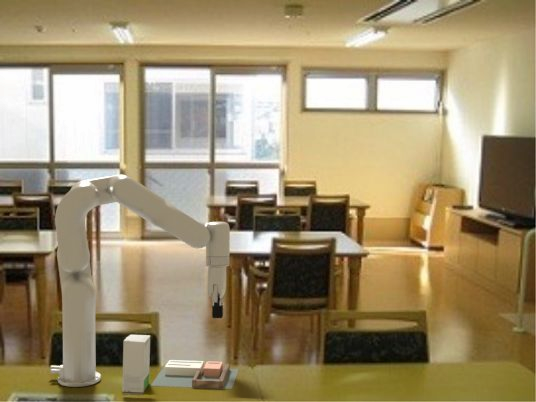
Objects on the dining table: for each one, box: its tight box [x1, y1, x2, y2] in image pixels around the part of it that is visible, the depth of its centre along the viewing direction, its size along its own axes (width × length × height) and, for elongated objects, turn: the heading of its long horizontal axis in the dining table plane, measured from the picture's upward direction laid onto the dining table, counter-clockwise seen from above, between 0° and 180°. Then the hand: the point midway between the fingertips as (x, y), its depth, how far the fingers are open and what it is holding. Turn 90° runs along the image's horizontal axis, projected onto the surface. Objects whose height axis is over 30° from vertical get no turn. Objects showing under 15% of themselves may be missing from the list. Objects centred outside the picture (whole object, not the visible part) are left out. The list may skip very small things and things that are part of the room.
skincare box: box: [121, 334, 151, 396], centre depth 202 cm, size 8×7×16 cm
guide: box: [191, 363, 231, 389], centre depth 211 cm, size 9×17×2 cm, turn 176°
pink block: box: [203, 360, 224, 377], centre depth 216 cm, size 5×7×3 cm
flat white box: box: [165, 359, 205, 376], centre depth 217 cm, size 11×7×3 cm, turn 86°
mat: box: [150, 365, 240, 390], centre depth 212 cm, size 24×18×1 cm
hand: (217, 317), depth 223 cm, fingers closed
